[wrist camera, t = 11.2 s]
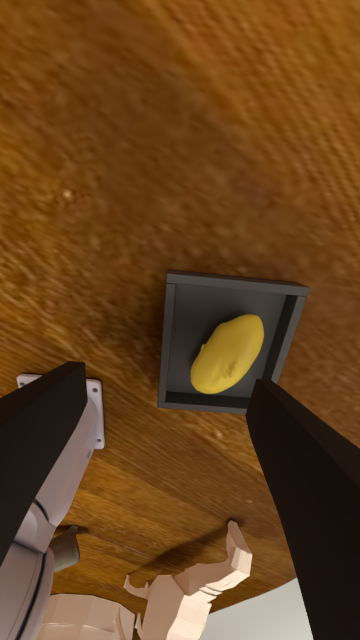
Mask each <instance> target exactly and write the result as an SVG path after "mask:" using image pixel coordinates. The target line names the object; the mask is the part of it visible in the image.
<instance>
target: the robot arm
mask: <svg viewBox="0 0 360 640" xmlns="http://www.w3.org/2000/svg"><path fill="white" fill-rule="evenodd" d="M17 383H18V387H19V389H17V390H15V391H13V392H11V393H9V394H7V395H5V396H3V397H1V398H0V640H35V639H36V637H37V634H38V631H39V629H40V626H41V623H42V620H43V617H44V614H45V611H46V608H47V605H48V601H49V597H50V593H51V588H52V582H53V570H54V554H53V551H52V550H51V549H50V548H49V547H48V546H49V543H50V541H51V539H52V536H53V534H54V532H55V530H56V527H57V526H58V525H59V524H60V522H61V521H62V520H63V518H64V517H65V515H66V514H67V512H68V510H69V508H70V506H71V503H72V501H73V499H74V496H75V494H76V491H77V489H78V487H79V484H80V482H81V480H82V477H83V475H84V472H85V470H86V468H87V465H88V463H89V460H90V458H91V456H92V453H93V451H94V449H103V448H104V445H105V437H104V421H103V405H102V388H101V382H100V381H99V380H94V379H86V371H85V363H84V362H73V361H69V362H67V363H65V364H63V365H61V366H59V367H57V368H55V369H54V370H52V371H50V372H48V373H46V374H44V375H32V374H20V375H19V376H18V377H17ZM95 388H96V389H95ZM246 420H247V424H248V429H249V433H250V436H251V440H252V443H253V446H254V449H255V451H256V454H257V457H258V460H259V462H260V465H261V468H262V470H263V473H264V476H265V478H266V481H267V484H268V486H269V489H270V492H271V495H272V497H273V500H274V503H275V505H276V508H277V511H278V514H279V517H280V520H281V523H282V526H283V529H284V533H285V536H286V540H287V543H288V547H289V550H290V554H291V557H292V560H293V564H294V567H295V571H296V575H297V579H298V582H299V586H300V589H301V593H302V597H303V601H304V605H305V608H306V612H307V616H308V619H309V623H310V627H311V631H312V635H313V639H314V640H360V449H359V448H358V447H357V446H355V445H354V444H353V443H351V442H350V441H349V440H347V439H346V438H345V437H343V436H342V435H340V434H339V433H338V432H336V431H335V430H334V429H333V428H331V427H330V426H329V425H327V424H326V423H325V422H323V421H322V420H321V419H320V418H318V417H317V416H316V415H315V414H313V413H312V412H311V411H310V410H308V409H307V408H306V407H305V406H303V405H302V404H301V403H300V402H298V401H297V400H296V399H295V398H293V397H292V396H291V395H290V394H289V393H287V392H286V391H285V390H284V389H282V388H281V387H280V386H278V385H277V384H276V383H274V382H273V381H272V380H267V379H256V382H255V385H254V388H253V392H252V395H251V398H250V401H249V405H248V408H247V411H246Z"/></svg>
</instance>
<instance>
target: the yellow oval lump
mask: <svg viewBox="0 0 360 640" xmlns="http://www.w3.org/2000/svg"><path fill="white" fill-rule="evenodd" d="M263 339H264V329H263V324H262V321H261V319H260V317H258V316H257V315H252V314H247V315H242V316H239V317H237V318H235V319H233V320H231V321H229V322H225V323H221V324H220V325H219V326H217V328H216V329H215V330H214V332H213V333H212V335H211V337H210V339H209V340H208V341H207V343H206V344H203V345H202V348H201V351H200V353H199V355H198V357H197V358H196V359H195V361H194V363H193V365H192V367H191V374H190V378H191V383H192V385H193V386H194V388H195V389H196V390H197V391H200V392H202V393H205V394H214V393H219V392H221V391H224V390H226V389H228V388H230V387H231V386H233V385H234V384H236V383H237V382H238V381H239V380H240V379H241V378H242V377H243V376H244V375H245V373H246V372H247V371H248V370H249V368H250V366H251V365H252V363H253V362H254V360H255V359H256V357H257V355H258V354H259V351H260V349H261V346H262V343H263Z"/></svg>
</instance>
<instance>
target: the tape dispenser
mask: <svg viewBox="0 0 360 640" xmlns="http://www.w3.org/2000/svg"><path fill="white" fill-rule="evenodd" d="M77 528H78V527H77V526H75V525H72V526H71V527H70V528H69V529H68V530H67V531H65V532H64V533H62V534H61V535H59V536H57V537H55V538H53V539H51V541H50V543H49V546H48V547H49V548H50V549H51V550H52V551H53V554H54V570H53V573H54V572H57V571H59V570H62V569H64V568H67V567H69V566H72V565H75V564H77V563H78V562H79V559H80V552H79V546H78V543H77V539H76V533H77V532H78V531H77Z"/></svg>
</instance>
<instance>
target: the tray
mask: <svg viewBox="0 0 360 640" xmlns="http://www.w3.org/2000/svg"><path fill="white" fill-rule="evenodd" d="M309 289H310V287H308V286H305V285H302V284H299V283H296V282H287V281H277V280H267V279H257V278H247V277H237V276H227V275H217V274H207V273H197V272H187V271H177V270H168V272H167V276H166V291H165V305H164V319H163V333H162V347H161V361H160V376H159V390H158V404H157V407H158V408H170V409H183V410H196V411H208V412H221V413H234V414H246V411H247V408H248V405H249V401H250V398H251V395H252V392H253V388H254V385H255V382H256V379H267V380H272V381H273V382H274V383H276V384H277V383H278V380H279V377H280V375H281V372H282V369H283V366H284V363H285V360H286V357H287V354H288V351H289V348H290V345H291V342H292V339H293V336H294V333H295V331H296V328H297V325H298V322H299V319H300V316H301V313H302V310H303V307H304V304H305V301H306V298H307V297H306V296H307V295H308V292H309ZM247 314H252V315H257V316H258V317H260V319H261V321H262V324H263V329H264V339H263V343H262V346H261V349H260V351H259V354H258V355H257V357H256V359H255V360H254V362H253V363H252V365H251V366H250V368H249V370H248V371H247V372H246V373H245V375H244V376H243V377H242V378H241V379H240V380H239V381H238V382H237V383H236V384H234V385H233V386H231V387H230V388H228V389H226V390H224V391H221V392H219V393H214V394H205V393H202V392H200V391H197V390H196V389H195V388H194V386H193V385H192V383H191V378H190V374H191V367H192V365H193V363H194V361H195V359H196V358H197V357H198V355H199V353H200V351H201V348H202V345H203V344H206V343H207V341H208V340H209V339H210V337H211V335H212V333H213V332H214V330H215V329H216V328H217V326H219V325H220V324H221V323H225V322H229V321H231V320H233V319H235V318H237V317H239V316H242V315H247Z"/></svg>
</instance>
